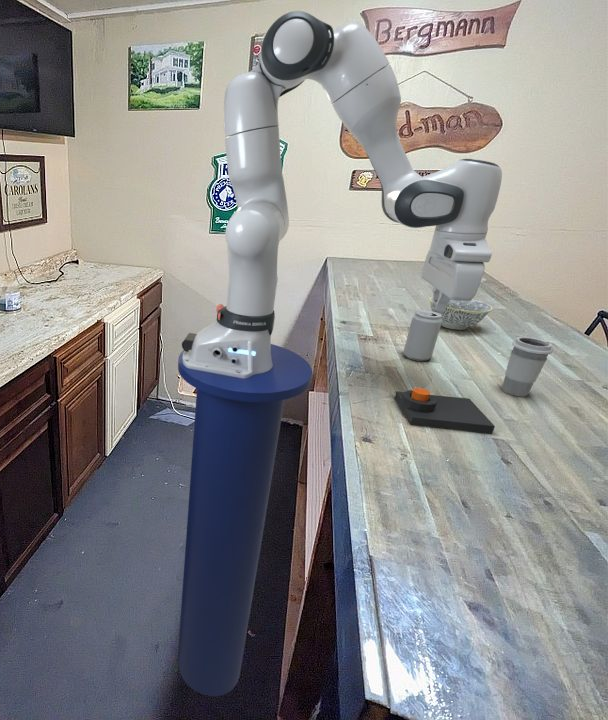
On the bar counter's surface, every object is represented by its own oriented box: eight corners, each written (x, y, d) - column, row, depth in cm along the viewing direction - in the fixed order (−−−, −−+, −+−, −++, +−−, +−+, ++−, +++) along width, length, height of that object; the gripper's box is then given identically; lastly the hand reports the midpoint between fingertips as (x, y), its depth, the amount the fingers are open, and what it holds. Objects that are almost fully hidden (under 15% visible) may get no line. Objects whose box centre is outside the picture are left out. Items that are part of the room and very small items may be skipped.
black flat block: (408, 424, 89) (412, 408, 88) (392, 397, 99) (395, 383, 98) (492, 433, 86) (498, 417, 85) (467, 405, 96) (472, 390, 95)
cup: (541, 400, 98) (563, 349, 93) (506, 397, 99) (526, 346, 94) (521, 385, 104) (541, 336, 99) (489, 383, 105) (507, 334, 101)
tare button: (413, 401, 91) (415, 393, 90) (408, 394, 94) (411, 386, 93) (430, 403, 91) (432, 395, 90) (425, 396, 93) (427, 388, 92)
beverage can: (431, 364, 115) (444, 319, 110) (402, 358, 118) (414, 314, 113) (430, 355, 120) (443, 311, 115) (402, 350, 123) (414, 308, 118)
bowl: (480, 322, 144) (487, 299, 141) (489, 338, 131) (497, 314, 128) (421, 315, 151) (427, 293, 148) (424, 329, 138) (431, 306, 135)
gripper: (422, 236, 104) (407, 295, 109) (458, 253, 86) (437, 323, 91) (454, 237, 102) (437, 297, 108) (496, 255, 84) (473, 325, 90)
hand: (437, 309), depth 100 cm, fingers closed
